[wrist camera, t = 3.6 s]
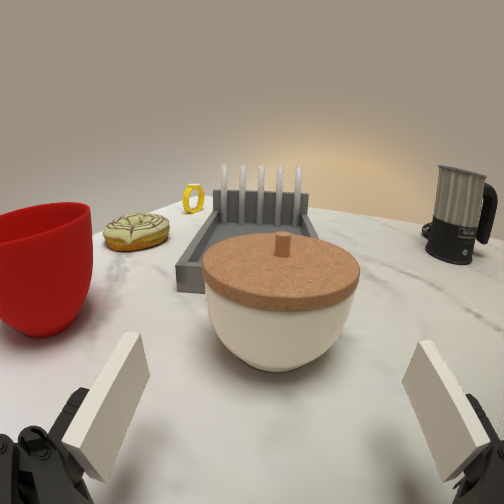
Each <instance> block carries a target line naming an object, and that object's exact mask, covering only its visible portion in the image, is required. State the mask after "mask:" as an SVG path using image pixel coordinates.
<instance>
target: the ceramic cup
mask: <svg viewBox="0 0 504 504" xmlns="http://www.w3.org/2000/svg"><path fill="white" fill-rule="evenodd" d="M92 268H93V241H92V225H91V213H90V207H89V206H87V205H86V204H82V203H76V202H75V203H74V202H61V203H50V204H43V205H37V206H32V207H27V208H23V209H19V210H15V211H12V212H9V213H6V214H3V215H0V319H1V320H3V321H4V322H5V323H7V324H8V325H10V326H11V327H13V328H15V329H16V330H18V331H20V332H23V333H24V334H25V335H27V336H30V337H35V338H43V337H49V336H52V335H55V334H58V333H60V332H62V331H63V330H65V329H67V328H68V327H69V326H70V325H71V324H72V323H73V322H74V321H75V319H76V317H77V314H78V312H79V310H80V308H81V307H82V305H83V303H84V301H85V298H86V296H87V293H88V289H89V286H90V282H91V276H92Z"/></svg>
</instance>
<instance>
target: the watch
mask: <svg viewBox="0 0 504 504" xmlns="http://www.w3.org/2000/svg"><path fill="white" fill-rule="evenodd" d="M194 188H196V189H197V191H198V198H199V199H198V204H197V206H196V208H195V209H193V210H190V207H189V196H190V193H191V191H192V190H193V189H194ZM203 203H204V192H203V190H202V188H201V187H200V184H188V185H187V189H186V190H185V192H184V196H183V206H184V210H185V211H186V212H187V213H192V214H193V213H195V212H198V211H200V210H201V208H202V207H203Z"/></svg>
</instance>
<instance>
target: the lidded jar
mask: <svg viewBox="0 0 504 504" xmlns="http://www.w3.org/2000/svg"><path fill="white" fill-rule="evenodd" d="M202 274H203V277H204V281H205V296H206V303H207V308H208V313H209V316H210V319H211V322H212V325H213V328H214V330H215V332H216V333H217V335H218V337H219V338H220V340H221V342H222V343H223V344H224V345H225V346H226V347H227V348H228V349H229V350H230V351H231V352H232V353H233V354H235V355H236V356H237V357H239V358H240V359H242V360H243V361H244V362H245V363H247V364H248V365H250V366H252V367H253V368H256V369H259V370H262V371H266V372H287V371H292V370H295V369H297V368H299V367H301V366H303V365H304V364H306V363H309V362H311V361H313V360H314V359H316V358H318V357H319V356H320V355H322V354H323V353H324V352H325V351H327V350H328V349H329V348H330V347H331V345H332V344H333V343H334V342H335V340H336V339H337V338H338V337H339V335H340V333H341V331H342V329H343V327H344V325H345V323H346V320H347V318H348V315H349V312H350V310H351V306H352V302H353V298H354V292H355V289H356V287H357V285H358V281H359V276H360V268H359V265H358V263H357V261H356V260H355V258H354V257H353V256H352V255H351V254H350V253H348V252H347V251H345V250H344V249H342V248H340V247H338V246H336V245H334V244H331V243H329V242H326V241H323V240H319V239H315V238H312V237H307V236H301V235H294V234H291V233H289V232H284V231H280V232H276V233H258V234H248V235H242V236H236V237H233V238H229V239H226V240H223V241H220V242H218V243H216V244H215V245H213V246H212V247H210V248H209V249H208V250H207V251H206V252H205V254H204V256H203V258H202Z"/></svg>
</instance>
